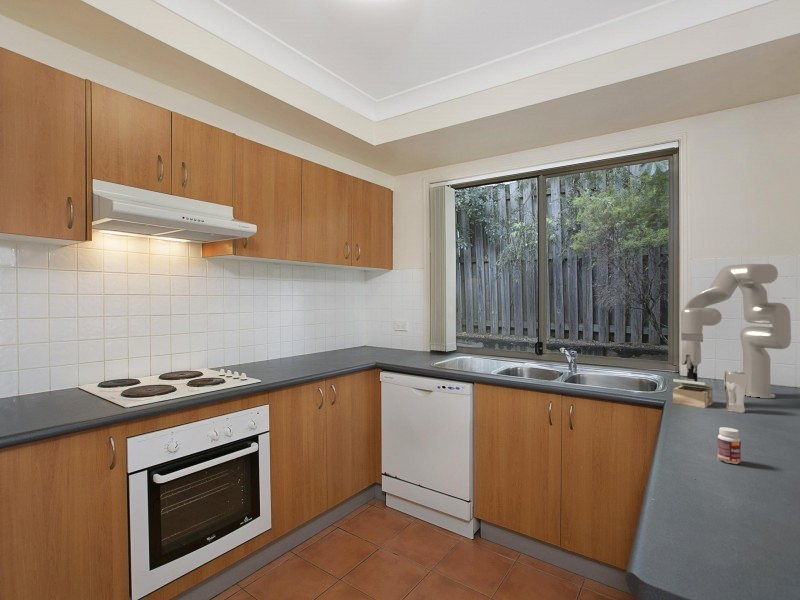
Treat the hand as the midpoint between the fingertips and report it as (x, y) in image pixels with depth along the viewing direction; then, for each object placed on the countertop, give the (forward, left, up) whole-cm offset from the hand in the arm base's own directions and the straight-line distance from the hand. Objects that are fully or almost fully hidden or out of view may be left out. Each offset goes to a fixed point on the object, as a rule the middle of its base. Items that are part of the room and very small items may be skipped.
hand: (692, 381), depth 175 cm
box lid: (-1, 0, -1) cm, 1 cm away
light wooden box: (0, 0, -9) cm, 9 cm away
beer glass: (+2, +15, -9) cm, 17 cm away
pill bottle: (+71, +26, -9) cm, 76 cm away
